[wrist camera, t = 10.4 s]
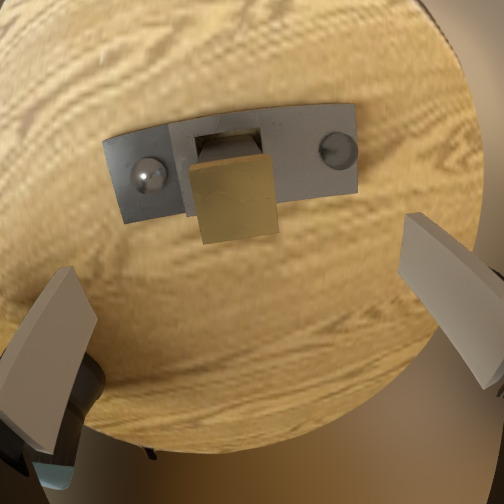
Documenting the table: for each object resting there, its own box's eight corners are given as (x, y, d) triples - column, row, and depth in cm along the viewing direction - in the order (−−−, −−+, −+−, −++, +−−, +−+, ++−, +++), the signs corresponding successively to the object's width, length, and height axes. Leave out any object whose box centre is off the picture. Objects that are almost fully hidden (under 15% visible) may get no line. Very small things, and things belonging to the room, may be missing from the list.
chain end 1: (127, 219, 30) (122, 226, 29) (106, 139, 26) (99, 142, 24) (276, 194, 30) (279, 200, 29) (266, 107, 26) (269, 108, 24)
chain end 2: (189, 207, 30) (186, 219, 28) (172, 122, 26) (166, 125, 23) (348, 185, 31) (359, 195, 28) (345, 102, 26) (357, 104, 24)
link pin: (210, 183, 29) (203, 244, 18) (203, 139, 27) (187, 170, 16) (256, 176, 29) (279, 232, 18) (250, 131, 27) (271, 158, 16)
